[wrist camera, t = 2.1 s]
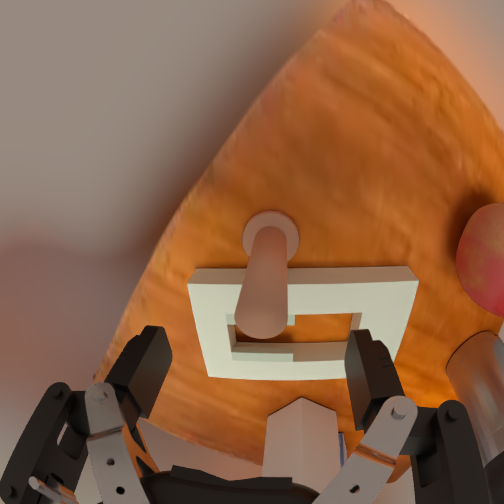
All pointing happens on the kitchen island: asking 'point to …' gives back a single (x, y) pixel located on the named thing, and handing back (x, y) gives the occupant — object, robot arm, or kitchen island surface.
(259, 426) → the kitchen island surface
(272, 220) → the headed peg
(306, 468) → the milk carton
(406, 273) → the keyhole board
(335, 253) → the kitchen island surface
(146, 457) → the robot arm
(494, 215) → the apple
